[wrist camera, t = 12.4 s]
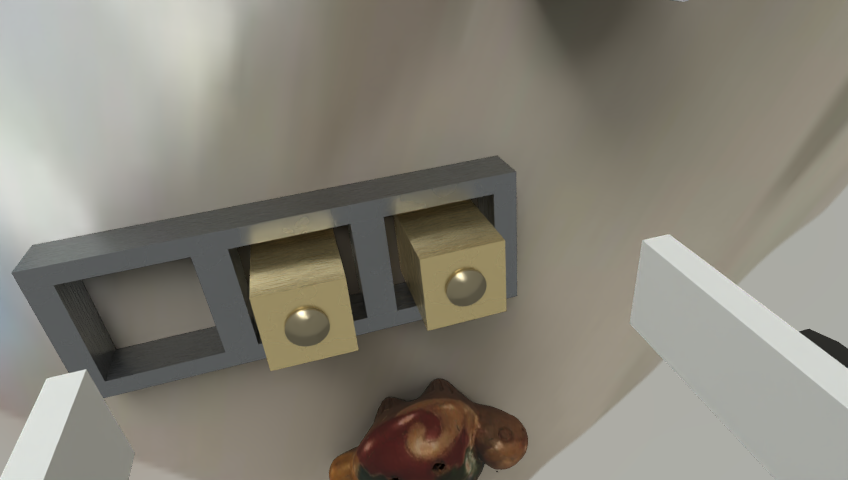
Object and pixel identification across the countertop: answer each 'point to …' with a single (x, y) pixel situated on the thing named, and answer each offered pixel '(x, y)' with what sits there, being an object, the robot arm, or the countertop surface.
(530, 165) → the countertop surface
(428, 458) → the decorative turtle
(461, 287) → the beige framed knobbed block
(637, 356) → the countertop surface
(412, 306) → the rack
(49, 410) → the robot arm
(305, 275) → the cube with silver knob
